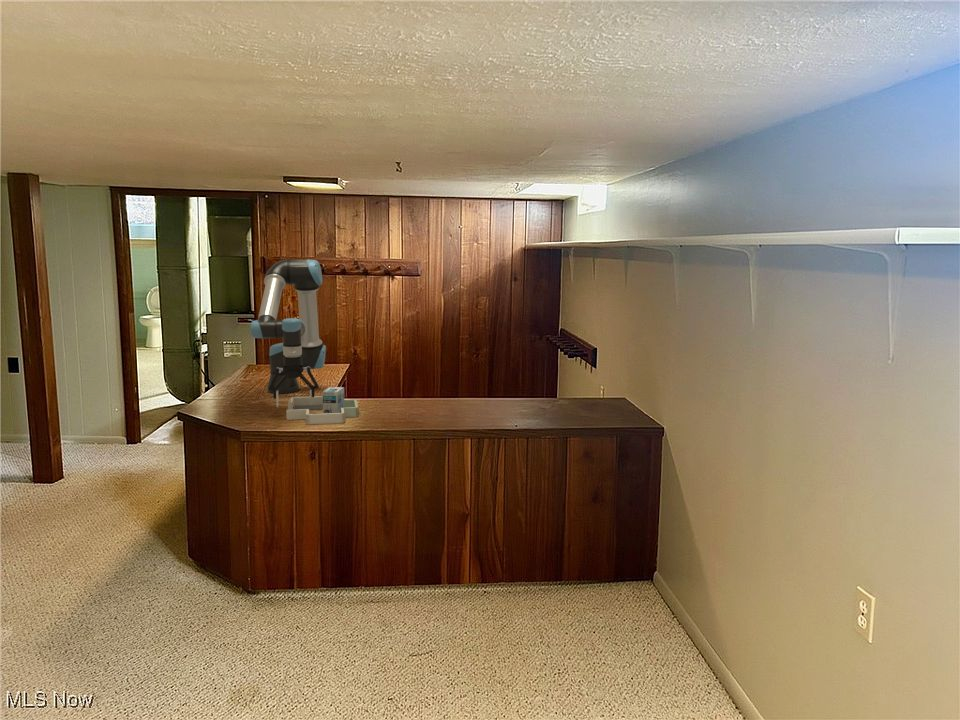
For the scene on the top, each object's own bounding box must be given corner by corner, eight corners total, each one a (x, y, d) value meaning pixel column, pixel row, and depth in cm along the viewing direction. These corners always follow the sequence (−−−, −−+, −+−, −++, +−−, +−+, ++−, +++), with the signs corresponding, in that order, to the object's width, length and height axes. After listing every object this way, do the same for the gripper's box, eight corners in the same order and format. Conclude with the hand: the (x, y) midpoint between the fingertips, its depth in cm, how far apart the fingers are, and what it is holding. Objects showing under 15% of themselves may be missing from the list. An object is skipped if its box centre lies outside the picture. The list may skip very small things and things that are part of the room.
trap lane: (289, 406, 321) (288, 397, 320) (355, 403, 327) (355, 394, 326) (285, 425, 288) (285, 415, 287) (359, 422, 294) (359, 412, 293)
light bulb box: (338, 417, 302) (337, 391, 300) (322, 416, 303) (321, 391, 301) (345, 411, 313) (344, 386, 311) (330, 410, 313) (329, 386, 312)
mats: (294, 406, 320) (294, 405, 320) (338, 404, 324) (338, 404, 324) (292, 424, 289) (292, 423, 289) (340, 422, 294) (340, 421, 294)
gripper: (260, 358, 294) (263, 408, 298) (323, 356, 300) (324, 406, 304) (262, 355, 302) (264, 404, 305) (323, 353, 307) (324, 402, 311)
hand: (294, 405), depth 305 cm, fingers open, 13 cm apart
